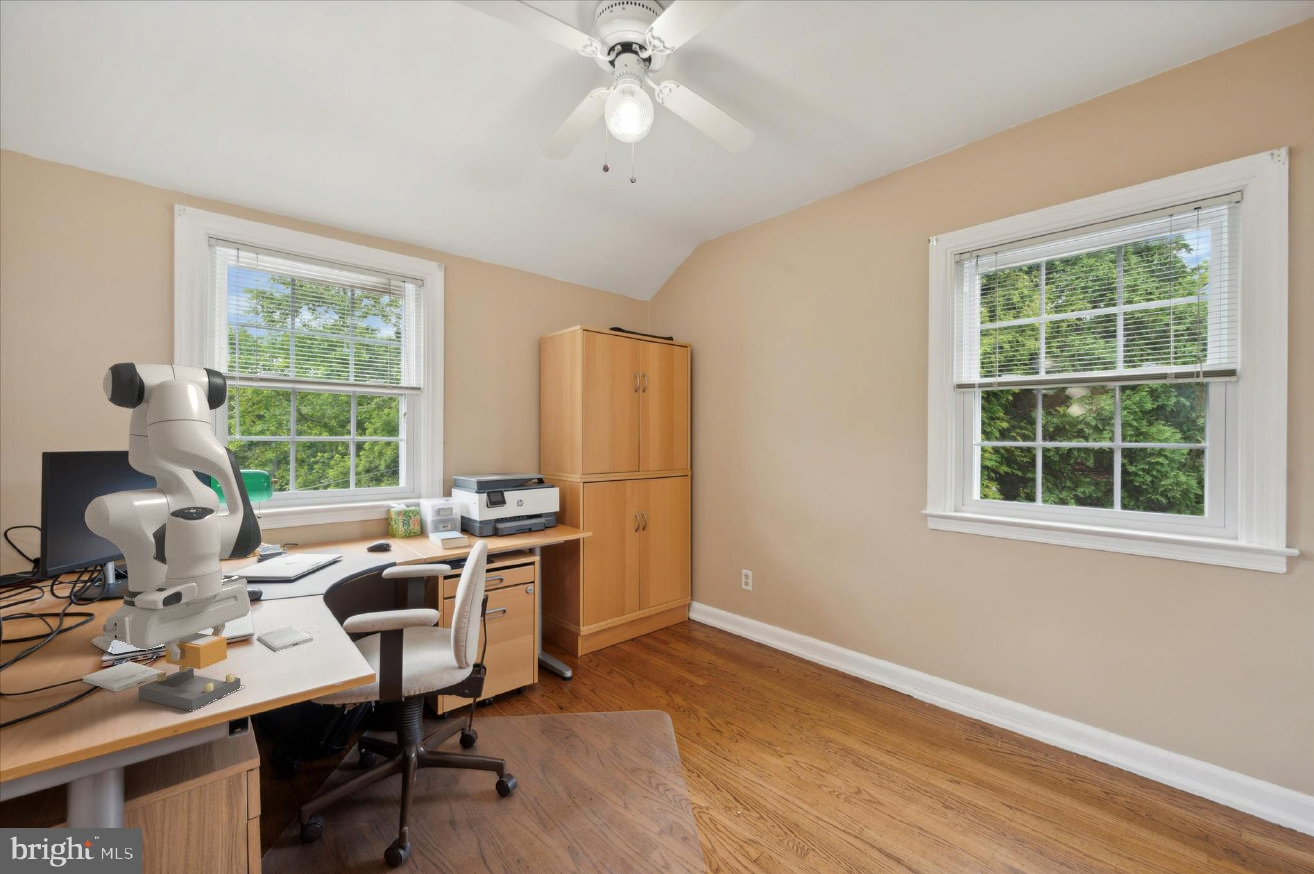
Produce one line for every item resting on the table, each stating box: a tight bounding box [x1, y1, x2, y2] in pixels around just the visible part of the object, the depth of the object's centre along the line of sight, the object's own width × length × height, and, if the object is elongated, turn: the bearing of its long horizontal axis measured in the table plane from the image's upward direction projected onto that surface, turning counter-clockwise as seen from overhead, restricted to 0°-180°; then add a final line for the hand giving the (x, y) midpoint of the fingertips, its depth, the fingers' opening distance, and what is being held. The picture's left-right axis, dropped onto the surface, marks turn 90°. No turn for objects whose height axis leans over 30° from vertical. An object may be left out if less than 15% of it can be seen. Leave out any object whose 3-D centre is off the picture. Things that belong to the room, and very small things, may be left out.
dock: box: [138, 665, 245, 712], centre depth 111 cm, size 16×10×4 cm, turn 73°
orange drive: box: [165, 632, 228, 670], centre depth 111 cm, size 10×5×5 cm, turn 73°
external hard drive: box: [82, 661, 164, 693], centre depth 117 cm, size 2×8×12 cm
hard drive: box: [257, 625, 314, 653], centre depth 137 cm, size 2×8×12 cm
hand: (196, 652), depth 111 cm, fingers closed on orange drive, 5 cm apart
